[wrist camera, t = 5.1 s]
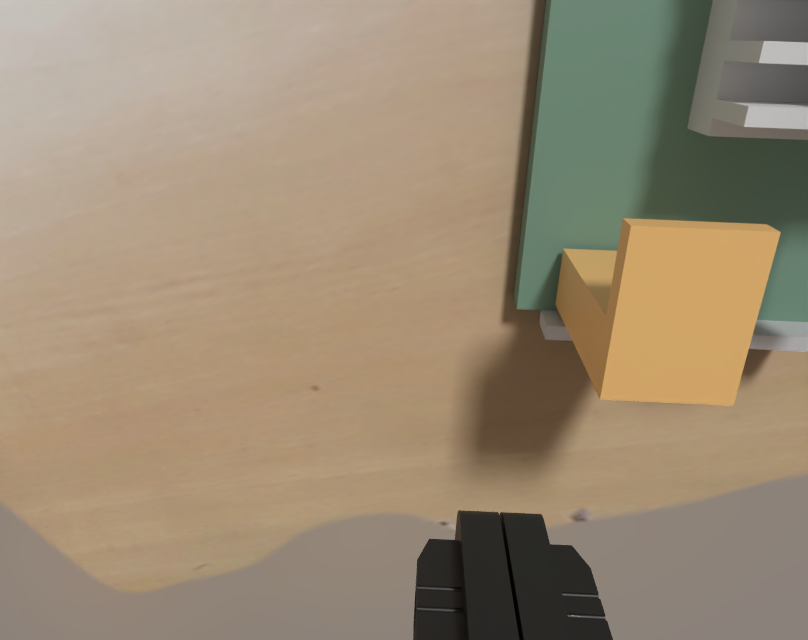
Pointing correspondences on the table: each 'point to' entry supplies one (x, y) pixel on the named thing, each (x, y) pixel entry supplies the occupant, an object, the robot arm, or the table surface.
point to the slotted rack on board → (669, 139)
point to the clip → (667, 308)
